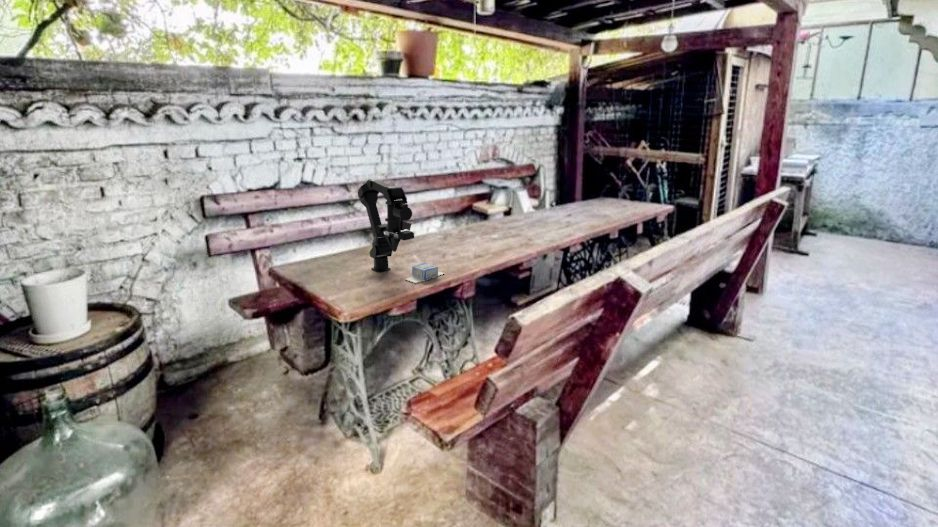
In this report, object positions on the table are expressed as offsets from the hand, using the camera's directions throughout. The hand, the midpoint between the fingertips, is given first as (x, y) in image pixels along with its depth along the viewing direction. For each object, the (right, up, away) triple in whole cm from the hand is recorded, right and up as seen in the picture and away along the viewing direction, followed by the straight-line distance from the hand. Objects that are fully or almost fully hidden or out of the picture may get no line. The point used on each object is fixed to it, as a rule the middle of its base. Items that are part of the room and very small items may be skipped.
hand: (394, 251), depth 220 cm
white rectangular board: (+13, -11, +5) cm, 18 cm away
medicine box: (+9, -8, +7) cm, 14 cm away
